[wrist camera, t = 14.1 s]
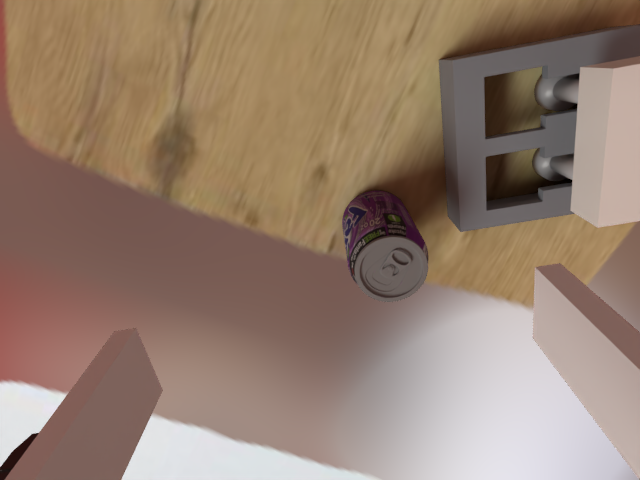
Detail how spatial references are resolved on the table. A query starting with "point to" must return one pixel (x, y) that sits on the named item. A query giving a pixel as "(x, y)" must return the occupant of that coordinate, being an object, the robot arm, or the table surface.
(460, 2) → the table surface
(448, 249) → the table surface
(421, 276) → the beverage can
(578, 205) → the bar
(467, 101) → the keyhole board
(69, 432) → the robot arm
